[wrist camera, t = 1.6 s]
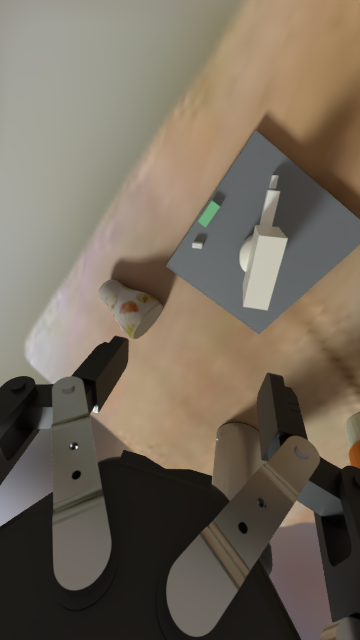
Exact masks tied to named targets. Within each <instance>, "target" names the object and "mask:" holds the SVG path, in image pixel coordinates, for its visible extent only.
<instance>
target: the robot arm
mask: <svg viewBox="0 0 360 640" xmlns="http://www.w3.org/2000/svg"><path fill="white" fill-rule="evenodd" d="M128 347H129V340H128V339H127V338H123V337H119V336H114V337H113V339H112V340H111V341H110V342H109V343H107V342H104V343H102V344H100V345H98V346H97V347H96V348H95V349H94V350H93V351H92V353H91V354H90V355H89V356H88V358H86V360H85V361H84V362H83V363H82V364H81V365H80V367H79V368H78V369H77V370H76V371H75V372H74V373H73V375H72V376H71V377H65V378H62V379H60V380H58V381H57V382H56V383H55V384H48V385H36V384H35V381H34V379H32V378H31V377H27V376H20V377H16V378H13V379H11V380H9V381H7V382H6V383H5V384H4V385H3V386H1V387H0V485H1V483H2V482H3V481H4V479H5V478H6V476H7V475H8V474H9V472H10V471H11V470H12V468H13V467H14V465H15V464H16V462H17V461H18V460H19V458H20V457H21V456H22V454H23V453H24V452H25V450H26V449H27V447H28V446H29V445H30V443H31V442H32V440H33V439H34V438H35V436H36V435H37V434H38V432H39V430H40V429H51V436H52V474H53V492H52V493H50V494H48V495H47V496H45V497H44V498H43V499H41V500H39V501H38V502H36V503H35V504H34V505H32V506H30V507H29V508H28V509H26V510H24V511H23V512H21V513H20V514H19V515H17V516H15V517H14V518H12V519H11V520H9V521H8V522H7V523H5V524H3V525H2V526H0V640H301V638H300V636H299V634H298V632H297V630H296V628H295V626H294V624H293V622H292V620H291V619H290V617H289V615H288V612H287V611H286V609H285V607H284V605H283V603H282V601H281V599H280V597H279V595H278V593H277V591H276V589H275V587H274V585H273V583H272V581H271V579H270V577H269V574H270V573H271V571H272V552H271V541H270V540H271V538H272V537H273V535H274V534H275V532H276V530H277V529H278V528H279V526H280V525H281V523H282V521H283V520H284V518H285V517H286V515H287V514H288V512H289V511H290V509H291V508H292V506H293V505H294V503H295V502H296V500H297V501H299V502H300V503H302V504H303V505H305V506H306V507H308V508H309V509H311V510H312V511H314V516H315V522H316V528H317V534H318V539H319V546H320V552H321V557H322V563H323V570H324V576H325V582H326V587H327V593H328V599H329V605H330V611H331V617H332V623H331V624H328V625H327V626H326V627H324V629H323V631H322V633H321V637H320V640H360V468H357V467H355V466H346V467H344V468H343V469H340V468H338V467H337V466H335V465H333V464H331V463H329V462H328V461H326V460H324V459H323V458H321V457H320V456H319V453H318V451H317V449H316V448H315V447H314V445H313V444H312V443H310V442H309V441H308V438H307V435H306V431H305V427H304V423H303V419H302V415H301V414H300V412H301V411H300V407H299V404H298V400H297V396H296V395H295V393H294V392H293V390H292V389H291V388H289V387H285V385H284V380H283V377H282V376H280V375H276V374H272V373H267V374H266V376H265V379H264V381H263V383H262V385H261V388H260V390H259V393H258V397H257V410H258V424H259V432H258V431H257V430H256V429H255V428H253V427H251V426H249V425H247V424H243V423H228V424H225V425H223V426H221V427H220V428H219V429H218V431H217V437H216V447H215V457H214V468H213V479H212V476H210V475H207V474H204V473H200V472H197V471H193V470H190V469H165V468H163V467H161V466H160V465H158V464H157V463H155V462H153V461H152V460H150V459H149V458H147V457H145V456H143V455H140V454H136V453H133V452H129V451H126V450H123V453H122V455H121V457H111V458H107V459H104V460H102V461H99V462H97V456H96V451H95V444H94V439H93V433H92V427H91V421H90V416H89V415H90V413H91V411H92V412H96V413H99V411H100V410H101V408H102V406H103V405H104V403H105V401H106V400H107V398H108V396H109V395H110V393H111V392H112V390H113V388H114V387H115V385H116V383H117V382H118V380H119V378H120V377H121V375H122V373H123V372H124V370H125V368H126V366H127V363H128Z"/></svg>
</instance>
